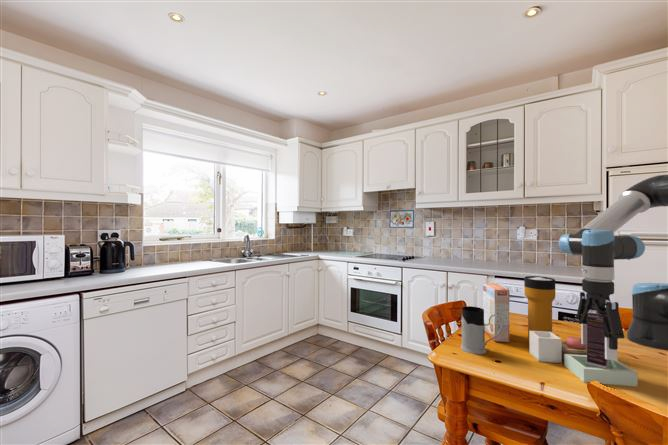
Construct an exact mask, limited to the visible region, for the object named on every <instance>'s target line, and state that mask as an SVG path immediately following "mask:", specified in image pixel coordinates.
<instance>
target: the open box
mask: <svg viewBox="0 0 668 445" xmlns="http://www.w3.org/2000/svg"><path fill="white" fill-rule="evenodd" d="M561 341H562V338H561V337H559V336H557V335H556V334H555V333H554V332H553V331H552V332H544V331H529V341H528V344H529V354H530V355H531V356H532V357H533V358H535V360H537V361H538V362H540V363H541V362H544V363H557V364H558V363H560V364H563V362H562V342H561Z"/></svg>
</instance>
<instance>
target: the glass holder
mask: <svg viewBox="0 0 668 445" xmlns="http://www.w3.org/2000/svg"><path fill="white" fill-rule="evenodd" d="M492 316H499V315H496V314H494V315H491V316H490V318H489V324H490V319H491V317H492ZM499 317H500V316H499ZM500 318H501V317H500ZM501 321H502V318H501ZM489 324H484V310H483V308H481V307H477V306H471V305H470V306H469V305H466V306H463V307H461V345H460V349H461V350H462V351H463V352H466V353H469V354H473V355H484V354H485V353H487V350H486V345H487V343H489V342H491V341H493V339H494V338H495V337H497V336H498V335H499V333H500V332H501V330H502V327H503V321H502V324H501V329H500V331H499V332H498V334H497V335H495V336H494V337H493V338H491V337H490V338H489V339H488V340H486V339H485V338H486V334H485V333H486V332H485V326H488V325H489Z"/></svg>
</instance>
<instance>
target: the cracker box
mask: <svg viewBox="0 0 668 445" xmlns="http://www.w3.org/2000/svg"><path fill="white" fill-rule="evenodd" d="M482 285H483V286H482V291H483V292H482V293H483V294H482V295H483V301H482V302H483V304H482V305H483V308H482V309H483V310H484V324H489V318H490V316H491V315H494V314H496V315H499V316H500V317H501V318H502V321H503V327H502V330H501V332H500V333H499V335H498V336H497V337H495V338H494V339H492V341H494V342H497V343H498V342H499V343H510V289H509V288H506V287H504V286H502V285H500V284H498V283H494V282H493V283H491V282H490V283H489V282H488V283H487V282H484V283H482ZM499 316H492V317H491V319H490V324H489V325H488V326H485V333H486V335H488V336H489V337H490V339H491V338H493V337H494V336H495V335H497V334H498V332H499V331H500V329H501V324H502V321H501V318H500V317H499Z"/></svg>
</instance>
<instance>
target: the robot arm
mask: <svg viewBox="0 0 668 445" xmlns="http://www.w3.org/2000/svg"><path fill="white" fill-rule="evenodd" d="M658 207H659V208H660V207H668V174H660V175H658V174H657V175H655V176H651V177H648V178H646V179H643V180H641V181H640V182H637V183H635V184H634V185H632V186H630V187H629V188H627V189H625V190H624V191H622V192H621V194H619V196H618V199H617V200H616V201H615V202H613V203H612V204H611V205H610V206H609V207H607V208H606V209H605V210H603V211H602V212H601V213H599V214H598V215H597V216H596V217H594V218H593V219H591V221H589V222H588V223H586V225H584V226H582V228H580V229H579V230H578V231H576V232H575V233H565V234H562V235H561V236H560V238H559V240H558V248H559V249H560V251H561V252H562V253H564V254H566V255H572V256H580V257H582V258H581V260H582V262H581V265H582V266H581V270H580V271H581V273H582V275H581V276H582V278H583V279H582V280H581V287H582V288H581V289H582V291H580V292H579V302H578V307H577V311H576V317H575V318H576V319H577V320H579V322H580V324H581V325H580V328H581V331H580V333H581V334H580V335H581V336H580V338H581V344H585V345H587V312H589V310H590V309H595V310H596V311H597V313H598V314H601V315H607V319H606V318H605V317H604V316H603V326H604V328H605V331H606V334H607V335H605V359H607V360H618V349H619V346H618V345H619V344H618V342H619V341H618V340H619V339H624V338H625V333H624V329H623V324H622V321H621V316H620V315H621V314H620V312H619V306H620V305H619V302H617V301H612V300H611V298H610V296H611V295H614V294H615V283H614V280H615V261H616V260H627V261H630V260H634V259H638V258H640V257H641V256H643V254H644V253H645V251H646V246H645V243H644V241H643V240H642V239H640V238H639V237H637V236H635V235H628V234H627V235H626V234H623V235H615V232H617V231H618V230H619V229H620V228H622V227H623V226H624V225H625V224H627V223H628V222H629V221H630V220H632V219H633V218H635V216H636V215H638V214H641V213H645V212H647V211H648V210H649V209H652V208H658ZM631 299H632V300H631V301H632V320H631V322H630V324H629V327H628V330H626V339H628V340H630V341H632V342H634V343H636V344H638V345H642V346H644V347H645V346H646V347H649V348H655V349H659V350H660V349H661V350H668V283H665V282H663V283H662V282H639V283H638V282H637V283H636V284H633V285H632V293H631Z"/></svg>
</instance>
